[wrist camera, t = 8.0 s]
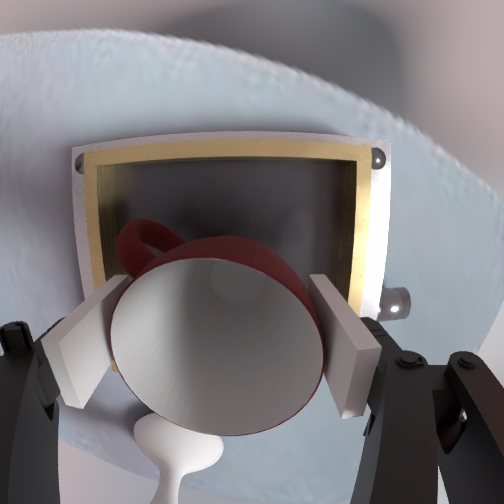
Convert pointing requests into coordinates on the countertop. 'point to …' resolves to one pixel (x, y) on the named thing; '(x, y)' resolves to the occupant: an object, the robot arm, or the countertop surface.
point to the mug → (214, 331)
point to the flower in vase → (174, 452)
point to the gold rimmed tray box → (246, 203)
